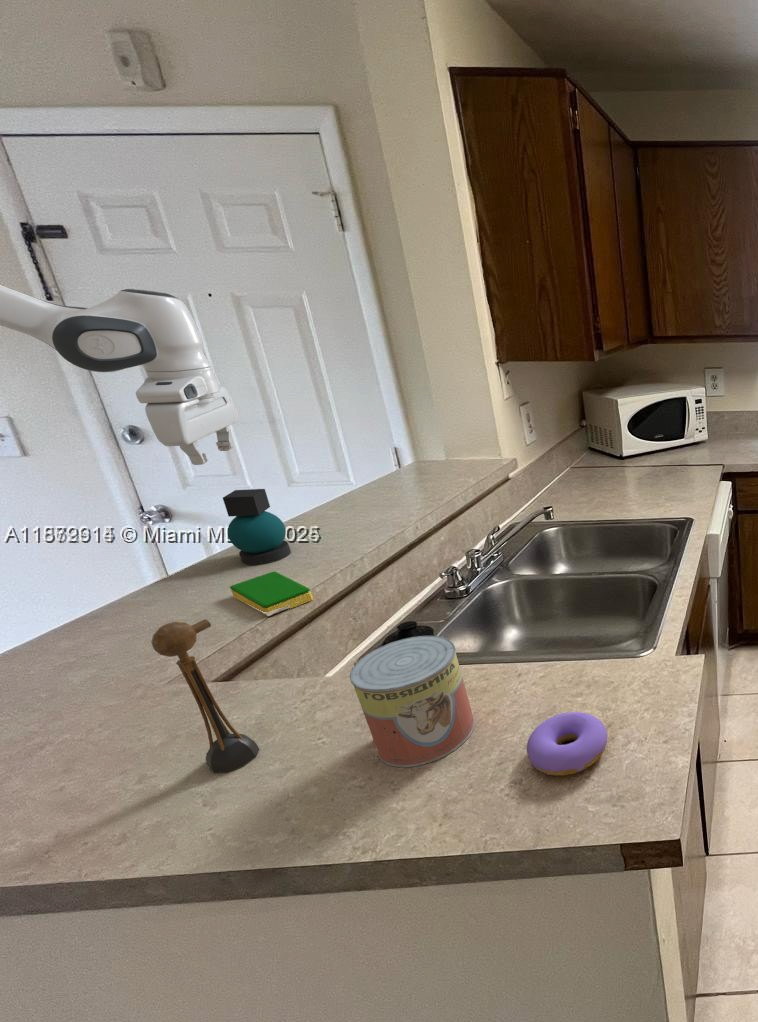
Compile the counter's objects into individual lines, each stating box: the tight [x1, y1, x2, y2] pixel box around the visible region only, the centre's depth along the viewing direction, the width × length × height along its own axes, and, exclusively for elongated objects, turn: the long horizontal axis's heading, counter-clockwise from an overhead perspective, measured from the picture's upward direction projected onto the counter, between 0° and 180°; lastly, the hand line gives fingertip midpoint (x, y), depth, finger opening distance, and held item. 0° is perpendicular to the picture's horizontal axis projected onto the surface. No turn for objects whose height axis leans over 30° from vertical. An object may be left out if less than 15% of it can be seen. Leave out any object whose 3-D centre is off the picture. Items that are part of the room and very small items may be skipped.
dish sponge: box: [229, 571, 314, 612], centre depth 112 cm, size 7×14×2 cm, turn 60°
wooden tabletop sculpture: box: [150, 619, 260, 774], centre depth 73 cm, size 6×5×20 cm
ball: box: [227, 510, 292, 566], centre depth 126 cm, size 9×9×10 cm
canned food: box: [349, 635, 476, 768], centre depth 78 cm, size 11×11×12 cm
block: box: [222, 488, 271, 517], centre depth 123 cm, size 5×5×4 cm
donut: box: [526, 711, 608, 776], centre depth 77 cm, size 10×9×5 cm
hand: (213, 456), depth 118 cm, fingers open, 8 cm apart
